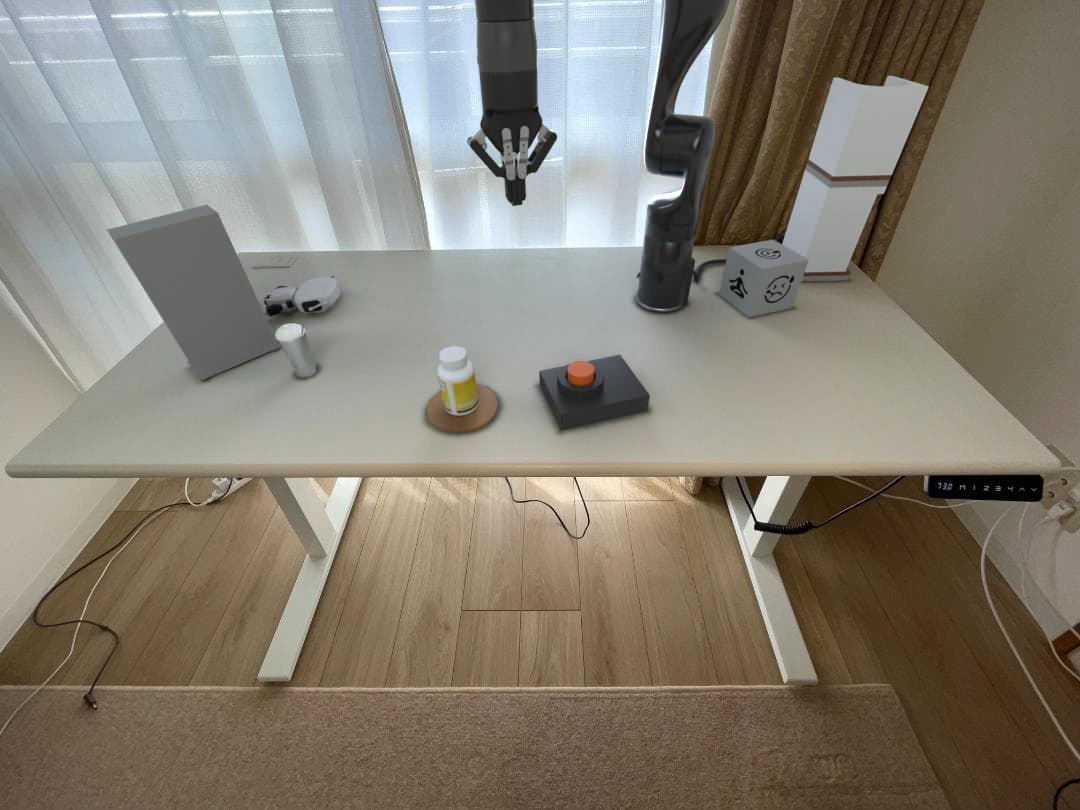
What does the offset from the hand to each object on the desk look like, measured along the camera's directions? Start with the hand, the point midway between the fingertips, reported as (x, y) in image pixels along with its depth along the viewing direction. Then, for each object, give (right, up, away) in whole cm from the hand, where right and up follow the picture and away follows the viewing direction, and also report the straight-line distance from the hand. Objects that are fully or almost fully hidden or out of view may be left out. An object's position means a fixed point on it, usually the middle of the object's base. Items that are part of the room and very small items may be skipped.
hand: (516, 203), depth 74 cm
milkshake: (-37, -25, +11) cm, 46 cm away
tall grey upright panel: (-52, -22, +15) cm, 58 cm away
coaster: (-8, -31, +3) cm, 32 cm away
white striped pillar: (+64, 0, +35) cm, 73 cm away
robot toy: (-45, -10, +29) cm, 55 cm away
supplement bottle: (-9, -31, +3) cm, 32 cm away
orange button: (+10, -26, +1) cm, 28 cm away
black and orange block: (+12, -29, +4) cm, 32 cm away
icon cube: (+47, -9, +25) cm, 54 cm away
